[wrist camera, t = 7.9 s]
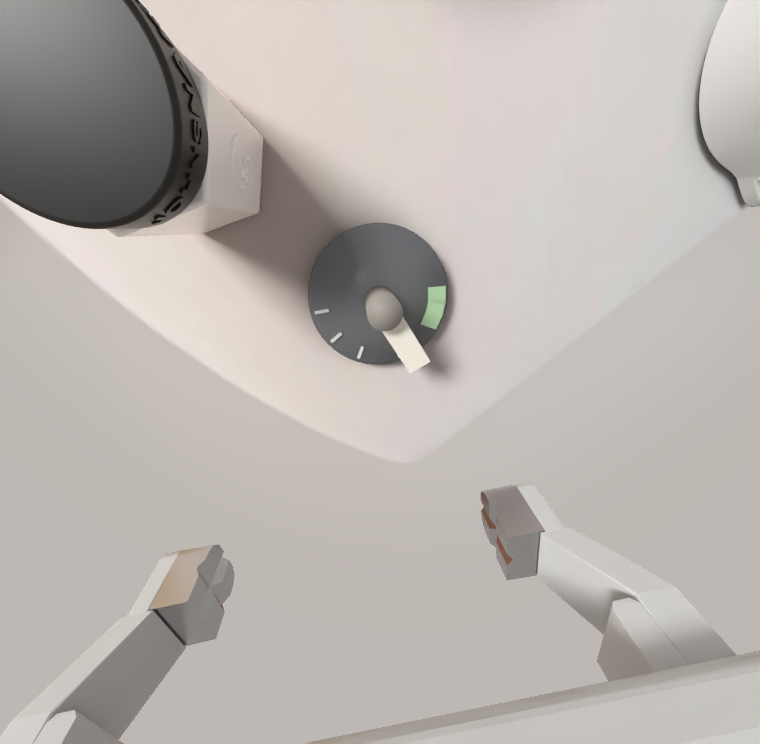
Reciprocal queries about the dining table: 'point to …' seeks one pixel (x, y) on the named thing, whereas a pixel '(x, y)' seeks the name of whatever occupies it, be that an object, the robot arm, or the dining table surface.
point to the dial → (368, 269)
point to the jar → (117, 124)
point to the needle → (394, 326)
